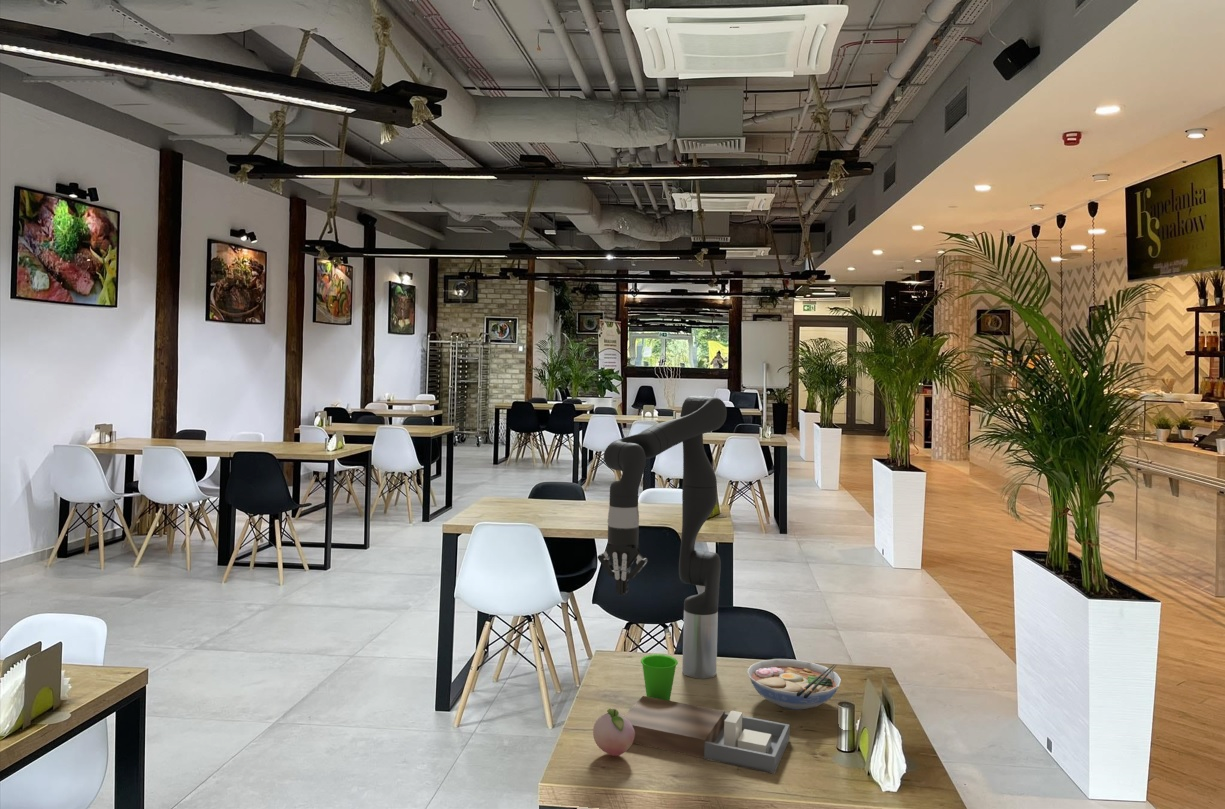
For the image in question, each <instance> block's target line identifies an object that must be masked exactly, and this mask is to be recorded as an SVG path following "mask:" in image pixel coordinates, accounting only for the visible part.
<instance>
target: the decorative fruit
mask: <svg viewBox="0 0 1225 809" xmlns="http://www.w3.org/2000/svg"><path fill="white" fill-rule="evenodd" d="M592 730H593V731H592V733H593V739H594V743H595V744H596V746H597V747H598V748H599V749H600V750H602V751H603V752H605V753H606V754H608V755H610V756H612V757H617V756H620V755H623V754H624V753H626V752H627V751H628V750H629V749H630V748H631V746H632V745H633V744H634V743H633V741H634V737H635V731H634V728H633V726H632V724H631V723H630V721H629V720H627V719H626V718H625V717H624V714H622V713H620V712H619V711H618V710H617V709H615V708H609V709H607V710H606V713H604V714H603V715H600V716H599V717H598V718H597V719H596V721H595V722H594V724H593V728H592Z"/></svg>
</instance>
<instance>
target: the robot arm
mask: <svg viewBox="0 0 1225 809" xmlns="http://www.w3.org/2000/svg"><path fill="white" fill-rule="evenodd" d="M681 406H682V407H681V410H680V411H681V412H680V417H678V418H674V419H670V420H666V421H661V422H660V423H657V424H654V425H652V426H650V427H648V428H646V429H644V430H642V431H641V432H638V433H637V434H633V435H629V436H628V435H627V436H625V437H622V438H619V439H616V440H613V442H611V443H609V445H607V446H606V448H605V450H604V454H603V461H604V463H605V465H606V466H607V467H608V468H610V469H611V470H613V471H619V472H622V473H621V477H620V479H619V480H615V481H612V483H611V484H610V486H609V504H608V505H609V506H608V514H607V545H606V548H605V551H604V552H602V553H600V554H599V555H597V559H598V561H599V562H600V564H601V565H602V567H603V569H604V570H605V573H606V574H607V575H608V577H613V578H614V579H615V592H616V593H617V595H618V596H626V594H627V593H628V592H629V588H630V587H629V585H630V584H629V583H630V582H629V580H632V579H634V578H635V577H637V575H638V574H639V573H640V572H641V571H642V569H643V568H644V567H645V566H646V565H647V563H648V562H649V559H648V558H647V557H643V555H642V554H641V551H640V548H639V533H640V530H639V527H640V513H639V491H640V490H639V489H640V487H641V486H640V485H641V482H642V479H643V476H644V471H645V468H646V465H647V464H646V463H647V462H646V461H647V459H652V458H655V457H656V456H659V455H661V454H662V453H664V452H665V451H667V450H669V449H670V448H673V447H675V446H677V445H679V444H681V443H682V459H683V462H682V463H683V464H682V470H683V472H682V473H683V474H682V492H681V494H682V495H681V499H682V500H681V501H682V509H681V510H682V513H681V514H682V521H681V524H682V526H681V536H680V537H681V538H680V549H679V557H678V558H679V559H678V561H679V562H678V576H679V580H680V582H681V583H683V584H686V585H693V586H701V587H704V591H703V592H701V593H698V594H693V595H690V596H688V597H686V598H685V599H684V602H683V635H682V636H683V637H682V667H681V668H682V674H683V675H685V676H687V677H689V678H694V679H711V678H713V677H716V675H717V666H718V664H717V659H718V658H717V657H718V628H719V627H718V624H719V623H718V620H719V619H718V618H719V617H718V616H719V599H720V583H721V582H720V581H721V571H722V570H721V568H722V567H721V566H722V563H721V557H720V555H719V554H718V553H717V552H713V551H704V550H703V551H702V550H696V549H695V546H696V540H697V537H698V534H699V532H700V530H701V528H702V527H703V525H704V524H705V523H706V522H707V520H708V518H710V516H711V515H712V512H714V509H715V507H716V505H717V496H718V495H717V492H718V491H717V490H718V486H717V484H718V483H717V480H718V479H717V476H716V473H715V471H714V468H713V466H712V464H711V462H710V460H709V458H708V455H707V453H706V450H705V446H704V436H703V434H708V433H710V432H711V433H712V432H713V431H717V430H719V429H720V428H721V427H722V426H723V425H725V424H724V423H725V422H726V420H727V415H728V414H727V413H728V412H727V411H728V409H727V406H726V404H725V402H724V401H723V400H722V399H721V398H718V397H715V396H709V395H708V396H707V395H705V396H704V395H690V396H688V397H686V398H685V399H684V400H683V403H682V405H681ZM635 561H636V562H635ZM634 563H636V565H635V567H634V568H633V569H632V565H633V564H634Z"/></svg>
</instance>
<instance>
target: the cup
mask: <svg viewBox="0 0 1225 809" xmlns="http://www.w3.org/2000/svg"><path fill="white" fill-rule="evenodd" d="M640 663H641V665H642V672H643V680H644V685H645V694H646V695H645V696H647V697H652V698H658V699H663V700H668V701H671V694H672V689H673V684H674V679H675V673H676V669H677V667H676V666H677V665H678V660H677V659H676V658H675V657H673V656H670V655H666V654H649V655H646V656H643V657H641V660H640Z"/></svg>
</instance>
